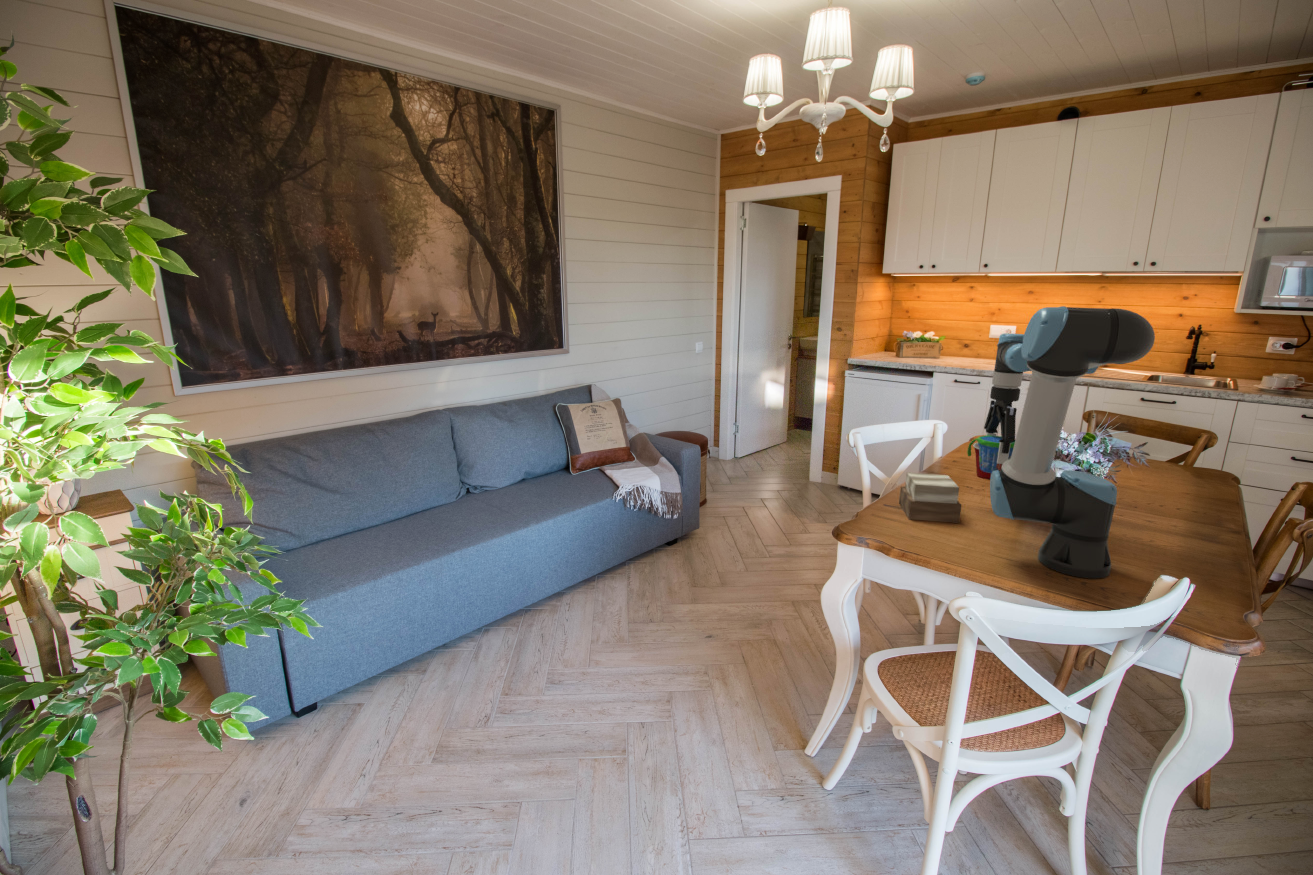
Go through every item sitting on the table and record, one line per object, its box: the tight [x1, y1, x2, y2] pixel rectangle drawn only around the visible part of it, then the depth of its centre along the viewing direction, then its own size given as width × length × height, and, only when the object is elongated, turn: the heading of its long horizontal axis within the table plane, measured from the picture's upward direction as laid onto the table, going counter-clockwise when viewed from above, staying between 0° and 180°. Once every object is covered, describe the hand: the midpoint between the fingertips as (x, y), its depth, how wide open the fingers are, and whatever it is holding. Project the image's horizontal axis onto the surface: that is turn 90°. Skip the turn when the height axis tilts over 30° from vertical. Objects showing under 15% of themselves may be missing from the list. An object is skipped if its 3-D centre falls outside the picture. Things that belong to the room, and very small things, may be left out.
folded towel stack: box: [898, 472, 963, 524], centre depth 188 cm, size 14×14×10 cm
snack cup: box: [966, 435, 1015, 473], centre depth 188 cm, size 16×10×10 cm
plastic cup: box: [972, 442, 992, 480], centre depth 224 cm, size 11×11×12 cm
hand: (995, 458), depth 189 cm, fingers closed on snack cup, 11 cm apart
